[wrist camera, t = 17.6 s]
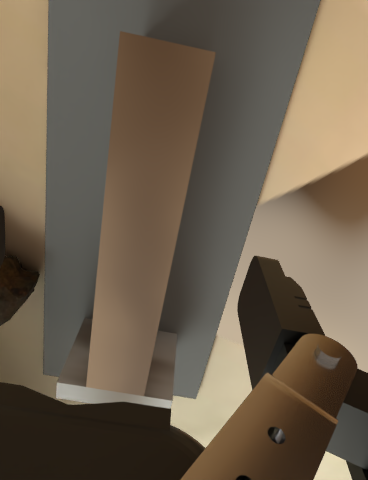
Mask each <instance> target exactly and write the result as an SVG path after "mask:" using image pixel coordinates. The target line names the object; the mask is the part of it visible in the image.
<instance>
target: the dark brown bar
mask: <svg viewBox="0 0 368 480" xmlns="http://www.w3.org/2000/svg"><path fill="white" fill-rule="evenodd" d="M39 275H40V274H39V272H34V271H26V270H24V269H22V268H21V265H20V262H19V260H18V258H17V257H15V256H10V257H6V256H5V257H4V260H3V263H2V265H1V267H0V326H1V325H2V324H4V323H5V322H7V321H8V320H10V319H11V318H12V316H13V315H14V314H15V313H16V311H17V310H18V309H19V308H20V307H21V306H22V305H23V303H25V301H26V300H27V299H28V297H29V296H30V295H31V293H32V292H33V291H34V287H35V286H36V283H37V281H38V278H39Z"/></svg>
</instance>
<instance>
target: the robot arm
mask: <svg viewBox="0 0 368 480" xmlns="http://www.w3.org/2000/svg"><path fill="white" fill-rule="evenodd" d="M4 257H5V215H4V210H3V208H2V206H0V267H1V265H2V263H3V260H4ZM238 317H239V321H240V327H241V333H242V338H243V343H244V348H245V354H246V359H247V364H248V369H249V375H250V380H251V385H252V391H251V393H250V394H249V395H248V396H247V398H246V399H245V400H244V401H243V403H242V404H241V405H240V406H239V408H238V409H237V410H236V411H235V412H234V414H233V415H232V416H231V417H230V419H229V420H228V421H227V422H226V424H225V425H224V426H223V427H222V429H221V430H220V431H219V432H218V434H217V435H216V436H215V437H214V439H213V440H212V441H211V442H210V443H209V445H208V446H207V447H206V448H205V447H203V446H202V445H201V444H200V443H199V442H198V441H197V440H195V439H194V438H193V437H191V436H190V435H188V434H187V433H185V432H183V431H181V430H180V429H178V428H176V427H173V426H171V425H170V419H171V409H169V408H162V407H156V406H150V405H143V404H137V403H130V402H110V403H96V404H83V405H68V404H65V403H62V402H60V401H58V400H55V399H53V398H50V397H48V396H46V395H43V394H41V393H38V392H36V391H34V390H31V389H29V388H27V387H24V386H21V385H14V384H8V383H2V382H0V480H313V479H314V477H315V475H316V472H317V470H318V468H319V465H320V463H321V461H322V458H323V456H324V454H325V451H327V452H329V453H331V454H334V455H336V456H338V457H340V458H342V459H344V460H346V462H347V465H348V468H349V471H350V474H351V477H352V480H368V373H366V372H364V371H362V370H359V369H357V363H356V360H355V359H354V357H353V355H352V354H351V353H350V352H349V351H348V350H347V349H346V348H345V347H344V346H343V345H341V344H340V343H338V342H337V341H335V340H333V339H331V338H329V337H327V336H325V334H324V332H323V330H322V328H321V326H320V324H319V322H318V320H317V318H316V316H315V314H314V312H313V310H311V306H310V304H309V302H308V301H307V298H306V296H305V294H304V292H303V290H302V288H301V287H300V286H299V285H298V284H297V283H296V282H295V281H294V280H293V279H292V278H290V277H286V276H285V275H284V272H283V270H282V268H281V265H280V263H279V261H278V260H275V259H269V258H265V257H259V256H254V257H253V259H252V261H251V263H250V266H249V269H248V272H247V275H246V278H245V281H244V284H243V287H242V290H241V292H240V296H239V301H238Z"/></svg>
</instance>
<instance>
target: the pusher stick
mask: <svg viewBox="0 0 368 480" xmlns="http://www.w3.org/2000/svg"><path fill="white" fill-rule="evenodd" d="M215 54H216V52H212V51H208V50H203V49H199V48H194V47H190V46H185V45H181V44H176V43H172V42H167V41H163V40H158V39H154V38H149V37H145V36H140V35H136V34H131V33H127V32H122V31H120V36H119V47H118V57H117V68H116V78H115V89H114V99H113V110H112V120H111V131H110V141H109V152H108V162H107V173H106V183H105V194H104V204H103V215H102V225H101V236H100V246H99V257H98V267H97V278H96V288H95V299H94V309H93V319H87V318H84V320H83V323H82V325H81V327H80V330H79V332H78V334H77V337H76V339H75V341H74V343H73V346H72V348H71V350H70V353H69V355H68V357H67V360H66V362H65V364H64V367H63V369H62V371H61V374H60V376H59V378H58V381H57V388H56V398H59V399H65V400H72V401H78V402H84V403H91V404H96V403H110V402H130V403H137V404H143V405H150V406H156V407H162V408H169V409H170V408H171V404H172V400H173V386H174V372H175V357H176V343H177V334H175V333H169V332H163V331H158V327H159V322H160V317H161V312H162V308H163V303H164V298H165V293H166V289H167V284H168V279H169V274H170V269H171V265H172V260H173V255H174V250H175V246H176V241H177V236H178V231H179V226H180V222H181V217H182V212H183V207H184V203H185V198H186V193H187V188H188V183H189V179H190V174H191V169H192V164H193V160H194V155H195V150H196V145H197V140H198V136H199V131H200V126H201V121H202V117H203V112H204V107H205V102H206V97H207V93H208V88H209V83H210V78H211V74H212V69H213V64H214V59H215Z"/></svg>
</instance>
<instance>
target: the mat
mask: <svg viewBox="0 0 368 480" xmlns="http://www.w3.org/2000/svg"><path fill="white" fill-rule="evenodd" d="M320 1H321V0H49V11H48V80H47V150H46V220H45V290H44V359H43V374H44V375H50V376H56V377H59V376H60V374H61V371H62V369H63V367H64V364H65V362H66V360H67V357H68V355H69V353H70V350H71V348H72V346H73V343H74V341H75V339H76V337H77V334H78V332H79V330H80V327H81V325H82V323H83V320H84V318H87V319H93V309H94V299H95V288H96V278H97V267H98V257H99V246H100V236H101V225H102V215H103V204H104V194H105V183H106V173H107V162H108V152H109V141H110V131H111V120H112V110H113V99H114V89H115V78H116V68H117V57H118V47H119V36H120V31H122V32H127V33H131V34H136V35H140V36H145V37H149V38H154V39H158V40H163V41H167V42H172V43H176V44H181V45H185V46H190V47H194V48H199V49H203V50H208V51H212V52H216V54H215V59H214V64H213V69H212V74H211V78H210V83H209V88H208V93H207V97H206V102H205V107H204V112H203V117H202V121H201V126H200V131H199V136H198V140H197V145H196V150H195V155H194V160H193V164H192V169H191V174H190V179H189V183H188V188H187V193H186V198H185V203H184V207H183V212H182V217H181V222H180V226H179V231H178V236H177V241H176V246H175V250H174V255H173V260H172V265H171V269H170V274H169V279H168V284H167V289H166V293H165V298H164V303H163V308H162V312H161V317H160V322H159V327H158V331H163V332H169V333H175V334H177V343H176V357H175V372H174V386H173V395H175V396H181V397H187V398H193V399H196V397H197V394H198V390H199V387H200V384H201V381H202V378H203V374H204V371H205V368H206V365H207V362H208V359H209V355H210V352H211V349H212V346H213V343H214V339H215V336H216V333H217V330H218V327H219V323H220V320H221V317H222V314H223V311H224V307H225V304H226V301H227V297H228V295H229V291H230V288H231V285H232V282H233V279H234V275H235V272H236V269H237V266H238V262H239V259H240V256H241V253H242V250H243V247H244V243H245V240H246V237H247V234H248V231H249V227H250V224H251V221H252V218H253V214H254V211H255V208H256V205H257V202H258V199H259V195H260V192H261V189H262V186H263V183H264V180H265V176H266V173H267V170H268V167H269V164H270V160H271V157H272V154H273V151H274V148H275V144H276V141H277V138H278V135H279V132H280V128H281V125H282V122H283V119H284V116H285V112H286V109H287V106H288V103H289V100H290V96H291V93H292V90H293V87H294V84H295V80H296V77H297V74H298V71H299V68H300V64H301V61H302V58H303V55H304V52H305V48H306V45H307V42H308V39H309V36H310V32H311V29H312V26H313V23H314V20H315V17H316V13H317V10H318V7H319V4H320Z"/></svg>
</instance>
